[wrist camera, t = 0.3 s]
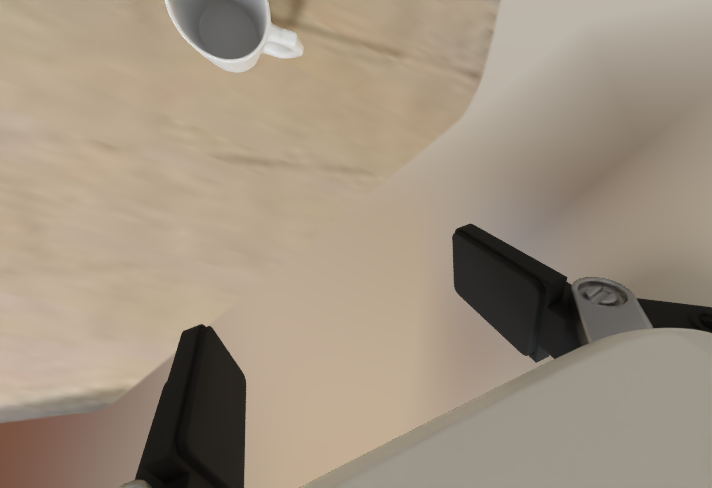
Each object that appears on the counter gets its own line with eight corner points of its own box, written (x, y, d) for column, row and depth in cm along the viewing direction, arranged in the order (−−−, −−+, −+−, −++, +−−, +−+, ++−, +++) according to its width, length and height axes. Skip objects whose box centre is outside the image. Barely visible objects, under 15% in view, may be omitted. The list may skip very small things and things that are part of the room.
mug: (192, 62, 30) (161, 41, 19) (196, -16, 27) (162, -86, 17) (288, 93, 34) (303, 89, 23) (298, 27, 31) (321, -8, 21)
